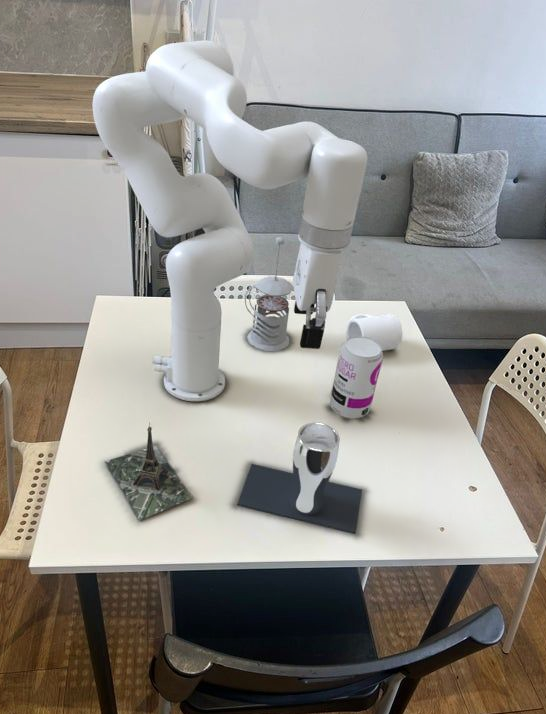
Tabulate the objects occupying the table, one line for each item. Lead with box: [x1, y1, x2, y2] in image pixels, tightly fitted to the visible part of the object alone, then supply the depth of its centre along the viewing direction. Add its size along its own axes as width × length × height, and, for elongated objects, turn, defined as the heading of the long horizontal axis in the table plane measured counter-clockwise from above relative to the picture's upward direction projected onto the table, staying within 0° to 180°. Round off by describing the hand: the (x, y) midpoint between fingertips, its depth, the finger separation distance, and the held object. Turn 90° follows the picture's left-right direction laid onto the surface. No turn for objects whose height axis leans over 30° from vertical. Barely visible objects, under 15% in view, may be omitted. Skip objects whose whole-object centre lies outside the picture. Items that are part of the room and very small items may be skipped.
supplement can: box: [329, 336, 384, 420], centre depth 125 cm, size 8×8×15 cm
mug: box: [346, 313, 403, 352], centre depth 146 cm, size 12×10×8 cm
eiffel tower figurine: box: [104, 421, 194, 521], centre depth 105 cm, size 15×10×13 cm
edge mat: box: [236, 463, 363, 535], centre depth 109 cm, size 20×10×1 cm, turn 77°
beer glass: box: [288, 422, 341, 515], centre depth 103 cm, size 7×7×15 cm
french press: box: [244, 236, 294, 352], centre depth 139 cm, size 10×12×25 cm
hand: (306, 329), depth 103 cm, fingers open, 9 cm apart
